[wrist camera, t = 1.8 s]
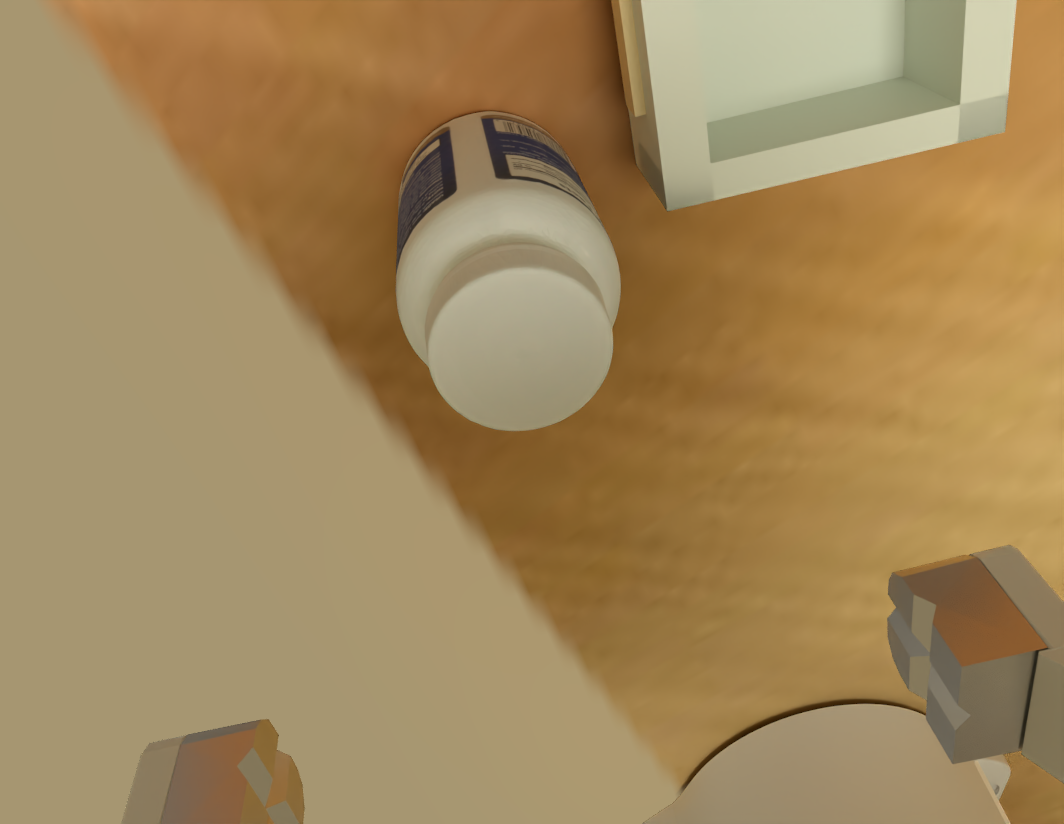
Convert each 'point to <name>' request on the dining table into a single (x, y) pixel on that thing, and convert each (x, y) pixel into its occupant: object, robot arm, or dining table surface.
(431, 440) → the dining table surface
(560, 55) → the dining table surface
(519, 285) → the pill bottle
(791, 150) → the rack
